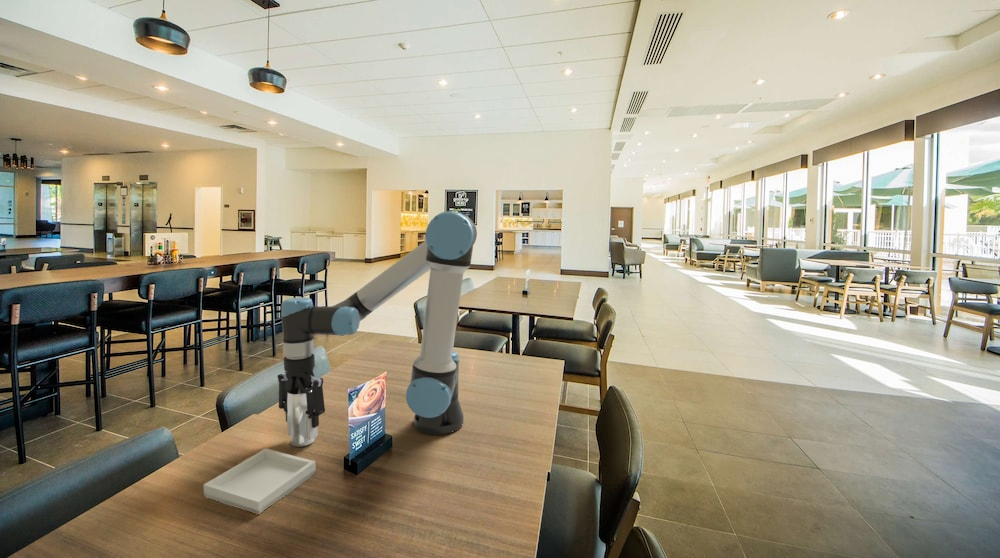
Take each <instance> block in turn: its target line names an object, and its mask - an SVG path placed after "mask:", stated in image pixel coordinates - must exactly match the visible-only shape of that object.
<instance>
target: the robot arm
mask: <svg viewBox="0 0 1000 558" xmlns="http://www.w3.org/2000/svg"><path fill="white" fill-rule="evenodd" d="M477 233H478V232H477V227H476V225H475V223H474V221H473V219H472V218H471V217H470V216H468V215H467V214H465V213H461V212H458V211H454V210H453V211H452V210H447V211H443V212H440V213H438V214H437V215H435V216H434V217H433V218H432V219H431V220H430V222H429V223H428V224H427V226H426V230H425V237H424V241H422V242H421V243H420V244H419V245H418V246H416V247H414V249H412V250H411V251H409V252H408V253H407V254H405V255H404V256H403V257H401V258H400V259H398V260H397V261H396V262H395V263H393V264H392V265H390V266H389V267H388V268H387V269H385V270H384V271H383V272H381V273H380V274H378V275H377V276H376V277H374V278H372V280H371V281H369V282H368V283H366V284H365V285H364V286H363V287H361V288H360V289H359V290H357V291H356V292H354V293H352V294H351V295H350V296H349V297H347V298H346V299H345V300H343V301H340V302H338V303H337V304H334V305H332V306H319V305H318V306H316V305H314V303H313V300H312V298H310V297H303V296H302V297H301V296H300V297H299V296H298V297H291V298H287V299H284V300H283V301H282V303H281V310H280V311H281V313H280V318H281V326H282V327H281V329H282V350H283V352H282V353H283V354H282V355H283V356H284V357H283V370H284V371H285V372H282V373H279V374H278V375H277V380H278V408H279V409H283V411H284V412H285V421H286V424H287V425H286V426H287V435H288V436H292V428H291V423H290V420H289V416H288V410H287V391H288V390H289V393H291V394H298V389H300V391H301V393H306V397H307V407H308V411H309V415H310V416H308V417H307V422H308V440H312V439H313V438H315V439H316V438H317V437H318V435H319V434H318V433H319V432H318V431H319V430H318V429H319V428H318V427H319V425H320V419H319V417H320V415H323V414H325V412H326V406H325V397H324V391H323V389H324V388H323V384H324V378H322V377H319V378H318V377H316V376H315V374H314V368H315V367H316V365H315V363H316V360H315V354H314V353H315V345H314V344H315V341H314V338H315V337H314V335H324V336H325V335H326V336H340V337H341V336H351V335H354V334H356V333H357V332H358V329H359V327H360V322H361V321H362V320H364V319H365V318H366V317H368V315H370V314H371V313H372V312H374V311H375V310H377V309H378V308H379V307H381V306H382V305H384V304H385V303H386V302H388V301H389V300H391V299H392V298H394V297H395V296H396V295H398V294H399V293H400V292H401V291H403V290H404V289H406V288H407V287H408V286H410V285H411V284H412V283H414V282H415V281H417V280H418V279H419V278H421V277H422V276H423V275H424V274H426V273H427V272H429V271H430V272H429V280H428V285H427V286H428V288H427V296H426V302H425V303H426V305H425V312H424V318H423V319H424V320H423V328H422V336H421V343H420V351H419V356H417V357H416V358H414V359H413V362H412V368H411V369H412V370H411V377H410V381H409V384H408V386H407V388H406V391H405V392H406V393H405V401H406V405H407V406H408V408H409V409H410V411H412V412H413V413H414V417H413V424H414V425H413V426H414V429H416V430H417V431H418V432H420V433H422V434H425V433H426V434H425V435H430V436H442V435H441V434H444V435H447V434H446V433H449V434H451V433H450V432H452V431H455V430H457V429H459V428H460V427H461V426H462V424H463V425H464V423H463V422H464V421H465V420H464V419H465V418H464V412H463V409H462V405H461V403H460V400H459V376H460V375H459V374H460V373H459V365H460V364H459V363H460V360H459V358H460V356H459V353H458V352H457V351H455V350H454V344H455V338H456V331H457V323H458V315H459V308H460V307H459V306H460V301H461V294H462V293H461V292H462V287H463V278H464V273H465V272H466V271H467V270H469V268H471V263H472V257H473V249H474V244H475V243H476V241H477V236H478V235H477ZM308 387H309V388H308ZM306 388H307V389H306ZM311 390H312V392H311V393H307V392H309V391H311ZM314 410H315V411H314ZM462 427H463V426H462ZM462 427H461V428H462ZM461 428H460V429H461ZM460 429H459V430H460ZM457 431H458V430H457ZM455 432H456V431H455ZM452 433H453V432H452Z"/></svg>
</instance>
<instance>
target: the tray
mask: <svg viewBox="0 0 1000 558" xmlns="http://www.w3.org/2000/svg"><path fill="white" fill-rule="evenodd" d="M316 464H317V462H316V461H315V460H311V459H308V458H303V457H301V456H296V455H292V454H289V453H285V452H281V451H277V450H272V449H269V448H264V449H262V450H261V451H259V452H257V453H256V454H254V455H252V456H250V457H248V458H246V459H245V460H244V461H241V462H240V463H238V464H237V465H236V464H235V466H233V467H231V468H229V469H228V470H226V471H224V472H223V473H221V474H219V475H217V476H215V477H214V478H212V479H211V480H209V481H207V482H205V483H203V485H202V487H203V497H204V496H205V497H208V498H211V499H214V500H216V501H215V502H217V501H219V502H218V503H220V502H221V503H220V504H223V505H227V506H230V507H232V506H237V507H240V508H243V509H245V510H249V511H251V512H255V513H260V512H262V511H263V510H264V509H266V508H267V507H268V506H270V505H271V504H273V503H274V502H276V501H277V500H279V499H280V500H282V499H283V498H284V497H286V496H287V495H289V494H290V493H291V492H292V491H294V490H295V489H296V488H297V487H300V485H302V484H303V483H304V482H306V481H307V480H308V479H310V478H311V477H312V476H314V475H315V474H316V473H317V465H316ZM285 495H286V496H285ZM205 497H204V498H205ZM282 497H283V498H282ZM208 498H207V499H208ZM281 498H282V499H281ZM211 499H210V500H211ZM214 500H213V501H214ZM280 500H279V501H280ZM276 503H277V502H276Z"/></svg>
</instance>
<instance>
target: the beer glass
mask: <svg viewBox="0 0 1000 558" xmlns="http://www.w3.org/2000/svg"><path fill="white" fill-rule="evenodd" d="M308 388H309V387H308ZM306 389H307V388H306ZM311 392H312V390H311V391H309V392H307V393H311ZM287 410H288V416H289V420H290V423H291V428H292V435H291V438H290V444H291V446H293V447H298V448H299V447H306V446H308V445H312V444H313V442H315V440H316V437H315V438H313V439H312V440H308V422H307V417H308V416H310V415H309V411H308V407H307V397H306V393H301V391H300V389H298V394H291V393H289V390H288V391H287ZM314 411H315V410H314Z"/></svg>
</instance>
